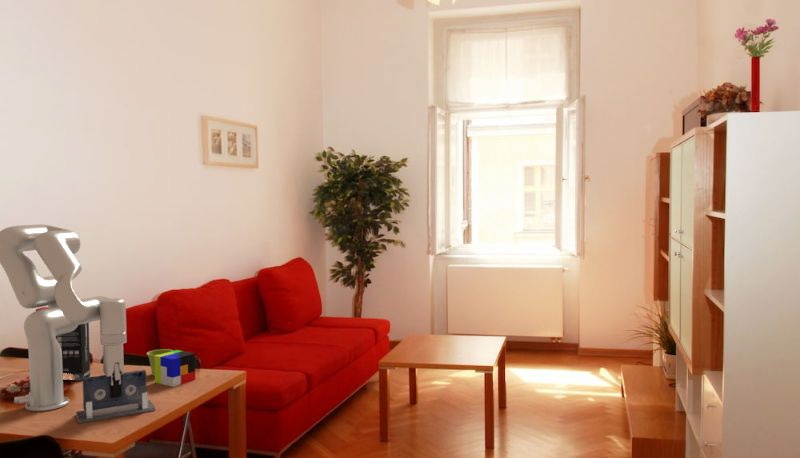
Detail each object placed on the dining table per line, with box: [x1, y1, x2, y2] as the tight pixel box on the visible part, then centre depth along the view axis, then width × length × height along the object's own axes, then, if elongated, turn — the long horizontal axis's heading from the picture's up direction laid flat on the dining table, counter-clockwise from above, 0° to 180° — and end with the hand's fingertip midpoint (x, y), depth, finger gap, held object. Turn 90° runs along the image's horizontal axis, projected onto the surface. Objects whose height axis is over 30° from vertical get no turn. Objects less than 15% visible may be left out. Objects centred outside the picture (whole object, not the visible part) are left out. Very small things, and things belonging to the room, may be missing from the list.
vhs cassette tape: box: [82, 369, 147, 411], centre depth 207 cm, size 18×3×10 cm, turn 120°
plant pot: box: [146, 348, 173, 377], centre depth 251 cm, size 9×9×9 cm
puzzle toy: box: [154, 349, 196, 388], centre depth 241 cm, size 10×10×10 cm
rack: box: [75, 391, 156, 424], centre depth 207 cm, size 22×9×6 cm, turn 122°
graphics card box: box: [35, 306, 91, 382], centre depth 244 cm, size 17×7×27 cm, turn 92°
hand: (115, 395), depth 207 cm, fingers closed on vhs cassette tape, 2 cm apart
